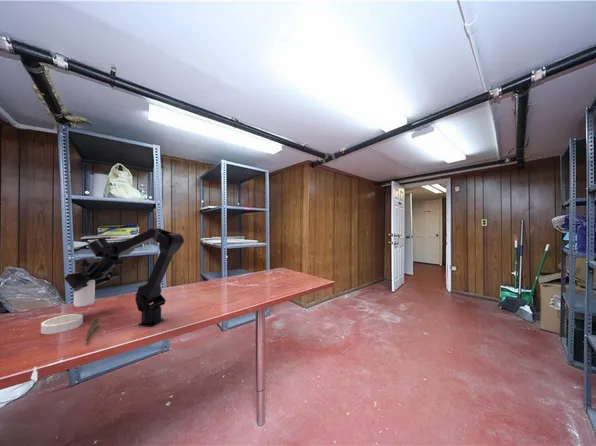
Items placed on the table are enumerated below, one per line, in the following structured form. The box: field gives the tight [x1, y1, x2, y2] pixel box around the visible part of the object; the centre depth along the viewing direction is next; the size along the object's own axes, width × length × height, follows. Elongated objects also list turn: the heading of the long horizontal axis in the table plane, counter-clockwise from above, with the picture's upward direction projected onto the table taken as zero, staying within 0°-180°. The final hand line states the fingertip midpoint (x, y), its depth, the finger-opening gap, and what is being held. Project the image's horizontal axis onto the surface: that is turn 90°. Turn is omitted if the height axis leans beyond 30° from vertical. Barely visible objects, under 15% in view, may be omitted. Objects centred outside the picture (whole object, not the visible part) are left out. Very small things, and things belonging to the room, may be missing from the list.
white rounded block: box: [73, 280, 96, 308], centre depth 94 cm, size 6×6×12 cm
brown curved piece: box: [84, 315, 104, 346], centre depth 79 cm, size 15×2×5 cm, turn 31°
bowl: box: [40, 313, 84, 335], centre depth 84 cm, size 11×11×3 cm
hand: (82, 289), depth 94 cm, fingers closed on white rounded block, 5 cm apart
